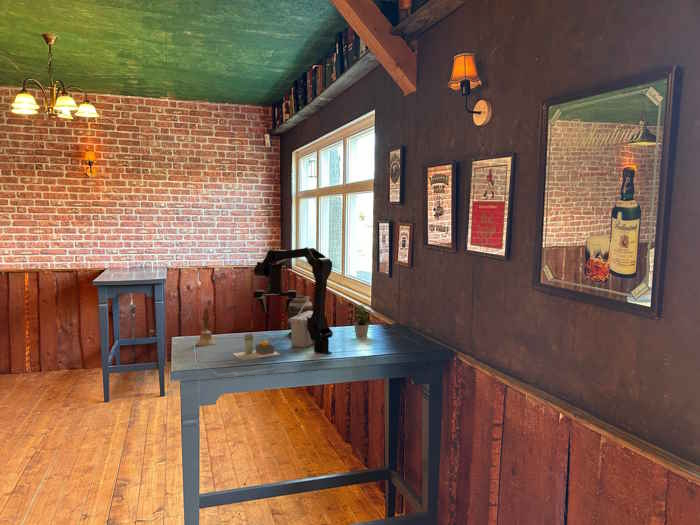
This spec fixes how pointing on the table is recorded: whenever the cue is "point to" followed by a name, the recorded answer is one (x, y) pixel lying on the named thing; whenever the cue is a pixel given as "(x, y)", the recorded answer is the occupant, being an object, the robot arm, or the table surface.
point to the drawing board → (253, 355)
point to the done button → (264, 343)
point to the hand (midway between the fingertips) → (275, 313)
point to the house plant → (361, 322)
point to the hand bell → (205, 332)
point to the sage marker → (248, 343)
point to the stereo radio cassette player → (300, 330)
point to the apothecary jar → (298, 307)
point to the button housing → (264, 349)
